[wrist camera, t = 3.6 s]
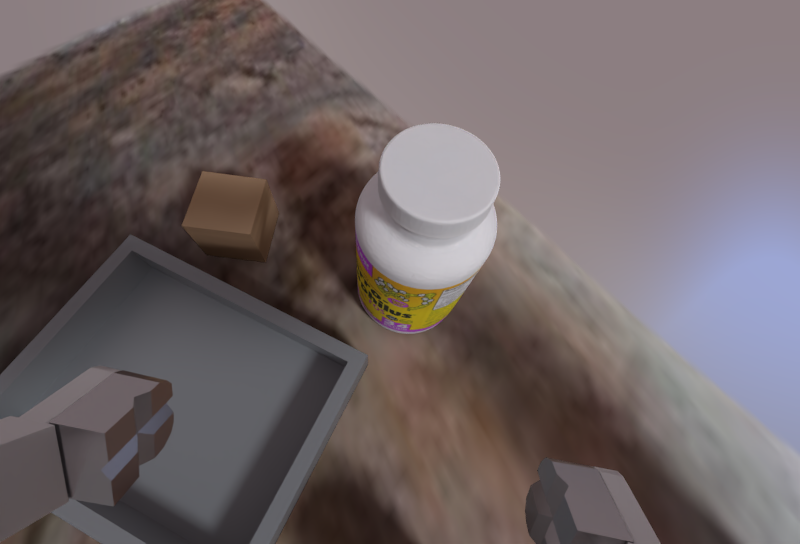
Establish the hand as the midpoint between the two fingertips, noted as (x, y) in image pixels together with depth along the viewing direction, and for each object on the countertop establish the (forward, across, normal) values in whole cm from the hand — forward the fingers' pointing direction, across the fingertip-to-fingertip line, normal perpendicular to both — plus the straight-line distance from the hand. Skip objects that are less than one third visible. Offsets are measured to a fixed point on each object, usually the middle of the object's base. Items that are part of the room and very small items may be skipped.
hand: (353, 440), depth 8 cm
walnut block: (+19, +11, +3) cm, 22 cm away
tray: (+11, +10, +10) cm, 18 cm away
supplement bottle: (+18, -1, +4) cm, 18 cm away
